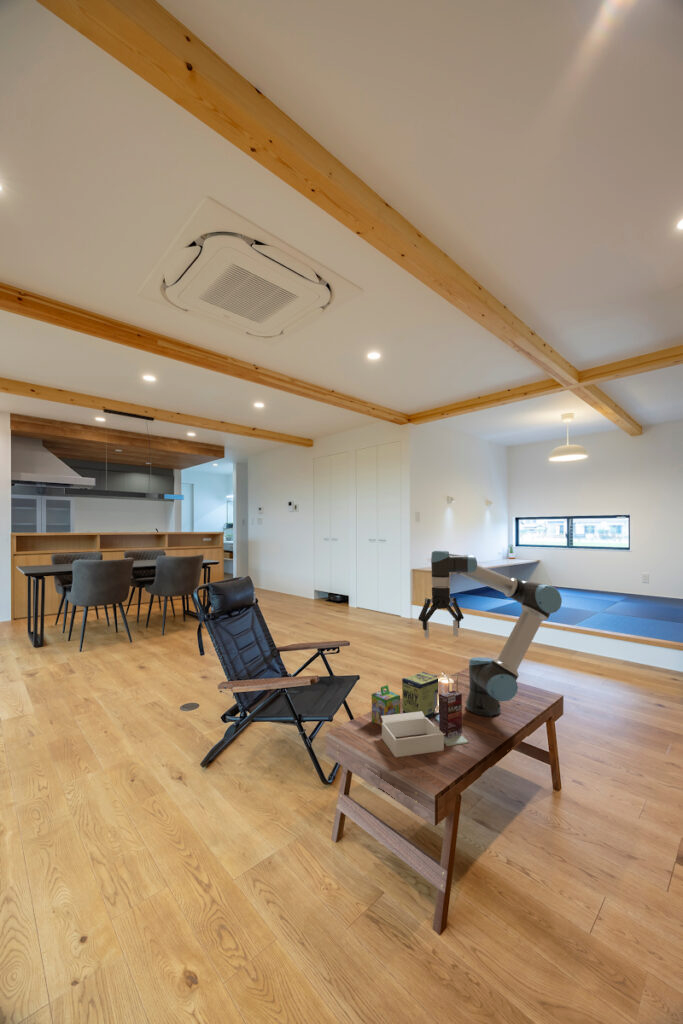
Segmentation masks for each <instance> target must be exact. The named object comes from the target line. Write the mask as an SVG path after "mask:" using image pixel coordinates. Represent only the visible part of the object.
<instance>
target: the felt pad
mask: <svg viewBox="0 0 683 1024" xmlns="http://www.w3.org/2000/svg"><path fill="white" fill-rule="evenodd" d="M437 728H438V729H439V727H437ZM444 744H445V746H447V747H449V746H457V745H463V744H464V745H465V744H469V740H468V739H466V738H465V737H464V736H463V734H461V735H458V736H455V737H452V738H450V739H446V738H444Z"/></svg>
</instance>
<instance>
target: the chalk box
mask: <svg viewBox="0 0 683 1024" xmlns="http://www.w3.org/2000/svg"><path fill="white" fill-rule="evenodd" d="M394 714H401V696H400V695H399V694H397V693H395V692H393V691H390V690H389V684H385V685H383V686H381V687H380V691H377V692H376V691H375V692H374V693H372V694H371V722H373V723H375V724H376V725H379V726H380V727H382V723H383V721H382V718H381V716H385V715H394Z"/></svg>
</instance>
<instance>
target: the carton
mask: <svg viewBox="0 0 683 1024" xmlns="http://www.w3.org/2000/svg"><path fill="white" fill-rule="evenodd" d="M381 718H382V721H383V723H382V726H381V740H382V741H383V742H384V744H385V745H386V746H387V747H388V749H389V750H390V752H391V753H392V755H393V756H394V758H400V757H407V756H415V755H421V754H429V753H436V752H442V751H445V747H444V746H445V745H444V744H445V743H444V735H445V734H446V733H444V734H443V733H442V732H441V731H440V730H439V729H438V728H439V727H437V726H436V724H434V723H433V722H432V721H431V720H430V719H429V718H427V717H425V716H424V714H423V712H422V711H420V712H411V713H403V712H402V713H400V714H394V715H385V716H381ZM417 735H418V736H417ZM407 736H410V737H407ZM400 737H401V738H400ZM402 737H403V738H402Z"/></svg>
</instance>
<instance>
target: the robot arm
mask: <svg viewBox="0 0 683 1024" xmlns="http://www.w3.org/2000/svg"><path fill="white" fill-rule="evenodd" d="M430 557H431V558H430V559H431V560H430V563H431V565H430V566H431V567H430V568H431V586H432V587H431V598H425V599H424V605H423V607H422V609H421V612H420V614H419V616H418V621H419V622H422V629H423V630H424V638H426V639H430V623H429V620H430V618H431V617H432V616H433V614H434V613H435V611H437V610H442V609H443V610H447V611H448V613H449V614H450V615H451V616H452V618H453V620H452V626H453V628H452V632H453V633H452V634H453V636H454V637H459V629H460V622H461V621H462V620H464V618H465V617H464V615H463V612H462V611H461V609H460V607H459V604H458V601H457V597H453V596H452V597H450V595H451V594H450V593H451V591H450V589H451V588H450V585H451V584H450V583H451V582H450V577H451V575H450V573H452V574H453V573H455V574H458V575H460V576H463V577H465V578H467V579H469V580H473V581H475V582H477V583H479V584H482V585H485V586H486V587H488V588H491V589H493V590H496V591H499V592H501V593H503V594H504V596H505V597H506V598H507V597H508V598H510V599H512V600H514V601H516V602H518V603H519V604H521V605H520V607H521V609H522V611H521V613H520V615H519V617H518V618H517V621H516V623H515V625H514V626H513V628H512V630H511V633H510V635H509V636H508V638H507V640H506V642H505V644H504V646H503V647H502V650H501V651H500V654H499V655H498V657H497V658H495V659H494V658H493V657H491V658H490V657H487V656H486V657H483V656H482V657H481V656H480V657H478V656H477V657H471V658H470V659H469V660H468V662H469V663H468V672H469V675H468V677H469V680H468V681H469V690H468V691H469V692H468V695H467V699H466V701H465V707H466V710H467V709H468V710H469V712H470V711H471V712H470V713H472V712H473V713H472V714H474V713H476V714H475V715H477V714H479V715H478V716H482V715H484V716H483V717H494V716H493V715H496V716H498V715H500V714H501V713H500V712H502V709H501V707H502V706H501V704H500V702H508V701H510V700H512V699H513V698H514V697H515V696H516V695H517V693H518V689H519V687H518V682H517V681H518V678H519V672H518V669H519V667H520V665H521V664H522V662H523V659H524V657H525V656H526V653H527V652H528V650H529V648H530V645H531V644H532V642H533V640H534V638H535V635H536V633H537V632H538V630H539V628H540V627H541V624H542V622H543V621H546V620H548V619H549V617H550V616H551V614H555V613H556V612H558V611H559V610H560V608H561V606H562V603H563V602H562V601H563V600H562V596H561V593H560V591H559V590H558V589H557V588H556V587H555V586H552V585H549V584H546V583H539V582H534V581H527V580H522V579H519V578H516V577H513V576H512V577H508V576H506V575H504V574H501V573H498V572H497V571H494V570H492V569H489V568H487V567H484V566H482V565H480V564H478V560H477V558H476V557H475V555H469V554H466V555H465V554H462V555H461V554H453V553H450V552H449V551H448V550H434V551H432V552H431V556H430ZM431 603H432V605H431ZM450 603H451V605H452V606H453V607H451V606H450ZM430 605H431V606H430ZM468 710H467V711H468ZM499 713H500V714H499ZM497 714H498V715H497Z"/></svg>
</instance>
